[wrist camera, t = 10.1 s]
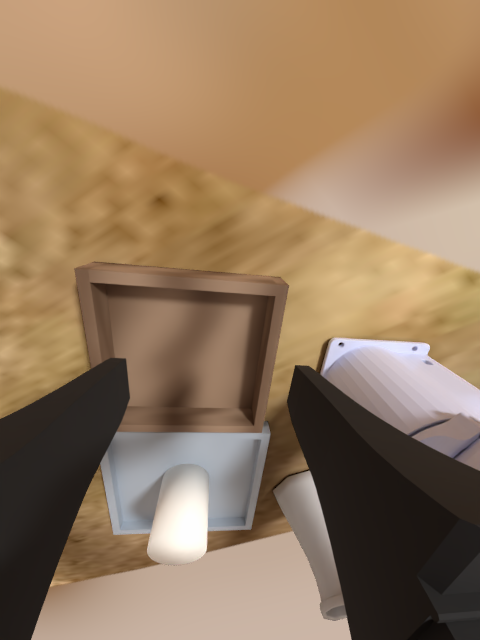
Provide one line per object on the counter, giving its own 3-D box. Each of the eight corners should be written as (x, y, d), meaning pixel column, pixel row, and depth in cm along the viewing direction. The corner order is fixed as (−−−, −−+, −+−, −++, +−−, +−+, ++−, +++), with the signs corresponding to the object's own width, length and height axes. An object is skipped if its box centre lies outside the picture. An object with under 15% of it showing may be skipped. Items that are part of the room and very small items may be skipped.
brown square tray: (280, 277, 18) (288, 285, 16) (257, 412, 24) (261, 432, 21) (94, 261, 17) (74, 268, 14) (114, 409, 22) (101, 431, 20)
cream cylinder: (205, 460, 25) (201, 529, 19) (212, 490, 27) (210, 560, 21) (157, 467, 25) (140, 538, 19) (168, 496, 27) (154, 569, 21)
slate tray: (267, 421, 24) (270, 433, 23) (249, 515, 30) (251, 529, 29) (102, 419, 22) (94, 432, 21) (118, 519, 28) (113, 534, 27)
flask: (292, 513, 31) (323, 637, 22) (261, 488, 28) (282, 616, 19) (341, 489, 30) (395, 609, 21) (313, 460, 27) (361, 582, 18)
